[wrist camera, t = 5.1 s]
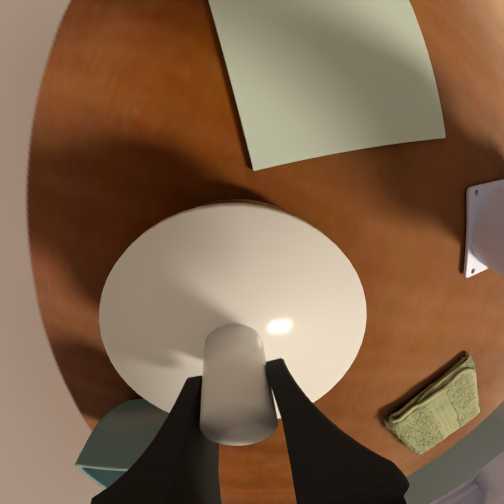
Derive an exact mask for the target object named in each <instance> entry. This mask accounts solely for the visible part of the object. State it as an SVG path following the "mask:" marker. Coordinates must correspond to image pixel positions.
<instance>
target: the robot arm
mask: <svg viewBox="0 0 504 504" xmlns="http://www.w3.org/2000/svg"><path fill="white" fill-rule="evenodd" d="M475 191H476V192H475ZM466 195H467V226H466V248H465V262H464V272H463V274H464V276H465V277H467V278H468V277H471V276H473V275H475V274H477V273H479V272H481V271H483V270H485V269H487V268H489V269H491V270H493V271H494V272H496V273H497V274H499V275H500V276H502V277H503V278H504V179H502V180H497V181H493V182H488V183H484V184H479V185H475V186H471V187H469V188H468V189H467V193H466ZM266 369H267V375H268V378H269V381H270V385H271V388H272V391H273V394H274V397H275V400H276V403H277V407H278V410H279V413H280V416H281V419H282V422H283V427H284V432H285V437H286V443H287V448H288V454H289V459H290V465H291V471H292V476H293V482H294V488H295V495H296V501H297V504H406V501H405V499H404V494H405V493H406V491H407V490H408V488H409V482H408V480H407V479H406V477H405V475H404V474H403V473H402V472H401V470H400V469H399V468H398V467H397V466H396V465H395V464H394V463H393V462H392V461H390V460H388V459H386V458H384V457H382V456H380V455H378V454H376V453H374V452H373V451H371V450H369V449H368V448H366V447H364V446H363V445H361V444H360V443H358V442H357V441H356V440H354V439H353V438H351V437H350V436H349V435H347V434H346V433H344V432H343V431H342V430H341V429H339V428H338V427H337V426H336V425H335V424H333V423H332V422H331V421H330V420H329V419H328V418H327V417H326V416H325V415H324V414H323V413H322V412H321V411H320V410H319V409H318V408H317V407H316V406H315V405H314V404H313V403H312V402H311V401H310V399H309V398H308V397H307V396H306V395H305V393H304V392H303V391H302V389H301V388H300V387H299V386H298V384H297V383H296V381H295V380H294V378H293V377H292V375H291V374H290V372H289V370H288V368H287V366H286V364H285V361H284V359H282V358H279V359H275V360H271V361H267V362H266ZM201 390H202V375H200V376H194V377H189V378H187V379H186V381H185V383H184V385H183V387H182V389H181V392H180V394H179V396H178V398H177V400H176V402H175V404H174V405H173V407H172V409H171V411H170V413H169V415H168V417H167V418H166V420H165V422H164V423H163V425H162V427H161V428H160V430H159V431H158V433H157V435H156V436H155V438H154V439H153V441H152V442H151V443H150V445H149V446H148V447H147V449H146V450H145V451H144V453H143V454H142V455H141V456H140V457H139V458H138V460H137V461H136V462H135V463H134V464H133V465H132V466H131V467H130V468H129V469H128V470H127V471H126V472H125V473H124V474H123V475H122V476H121V477H120V478H119V479H118V480H116V481H115V482H114V483H113V484H112V485H110V486H109V487H108V488H106V489H105V490H103V491H102V492H101V493H99V494H98V495H96V496H95V497H93V498H92V501H91V504H222V502H221V495H220V486H219V476H218V459H219V443H217V442H215V441H212V440H210V439H209V438H207V437H206V436H205V435H204V434H203V433H202V432H201V429H200V408H201ZM429 504H504V451H503V452H502V453H501V454H499V455H498V456H497V457H496V458H494V459H493V460H492V461H490V462H489V463H488V464H486V465H485V466H484V467H483V468H481V469H480V470H479V471H478V472H477V473H476V474H475V476H474V477H473V478H471V479H470V480H468V481H467V482H465V483H464V484H462V485H461V486H459V487H457V488H456V489H454V490H452V491H451V492H449V493H447V494H446V495H444V496H442V497H440V498H439V499H437V500H435V501H433V502H431V503H429Z"/></svg>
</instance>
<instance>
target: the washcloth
mask: <svg viewBox="0 0 504 504" xmlns="http://www.w3.org/2000/svg"><path fill="white" fill-rule="evenodd" d="M476 377H477V375H476V369H475V366H474V361H473V359H472V356H471V355H470V354H467V355H466V356H465V357H461V359H460V360H459V361H458V362H457V363H456V364H455V365H454V366H453V367H452V368H450V369H449V370H448V371H447V372H446V373H445V374H444V375H443V376H442V377H441V378H440V379H438V380H437V381H435V382H434V383H433V384H430V385H429V386H428V387H427V388H426V389H424V390H423V391H422V392H421V393H420V394H418V395H417V396H416V397H415V398H413V399H412V400H411V401H410V402H409V403H407V404H406V405H405V406H404V407H403V408H401V409H400V410H399V411H397V412H395V413H393V414H392V415H390V416H389V417H388V418H386V419H384V422H385V423H384V424H385V425H386V428H387V429H388V430H391V431H392V433H395V435H396V436H397V437H398V438H399V439H401V440H402V441H403V442H404V444H406V446H407V447H409V448H410V450H411V451H412V452H415V453H417V454H422V453H424V452H425V451H427V450H429V449H430V448H432V447H434V446H435V445H436V444H438V443H439V442H440V441H442V440H444V439H445V438H446V437H447V436H448V435H450V434H451V433H453V432H454V431H455V430H457V429H458V428H459V427H462V426H464V425H465V424H466V423H467V422H469V421H470V420H471V419H472V418H474V417H475V416H476V415H478V413H479V412H480V403H479V397H478V388H477V381H476Z"/></svg>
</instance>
